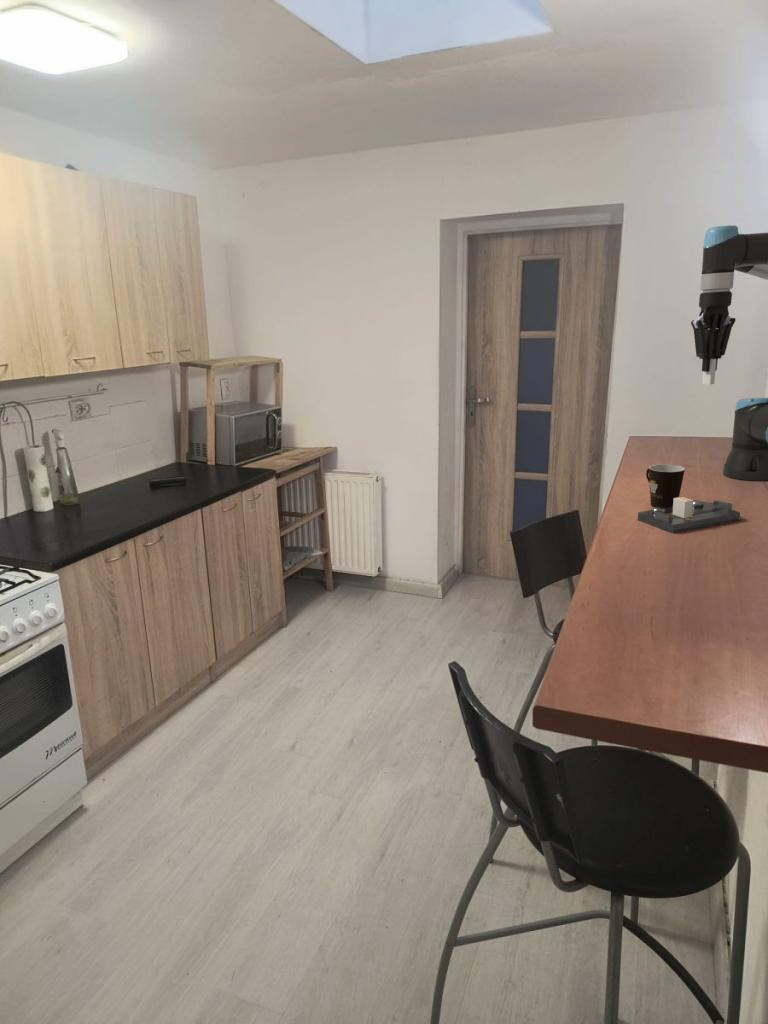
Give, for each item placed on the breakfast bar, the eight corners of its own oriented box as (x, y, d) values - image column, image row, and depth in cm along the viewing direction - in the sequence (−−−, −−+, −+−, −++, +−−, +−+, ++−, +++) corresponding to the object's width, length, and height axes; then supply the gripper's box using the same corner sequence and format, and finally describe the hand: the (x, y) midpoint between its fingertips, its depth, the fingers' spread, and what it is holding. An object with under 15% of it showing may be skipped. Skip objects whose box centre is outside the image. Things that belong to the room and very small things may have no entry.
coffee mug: (685, 510, 169) (688, 471, 166) (649, 510, 171) (651, 472, 168) (675, 498, 180) (678, 461, 177) (641, 497, 182) (644, 462, 179)
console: (701, 508, 170) (702, 494, 169) (739, 520, 159) (740, 505, 158) (637, 520, 163) (638, 506, 162) (672, 533, 153) (673, 518, 152)
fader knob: (680, 512, 160) (681, 496, 159) (691, 516, 157) (693, 499, 156) (672, 514, 159) (673, 497, 158) (683, 518, 156) (685, 501, 155)
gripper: (723, 291, 177) (715, 380, 184) (685, 292, 173) (678, 384, 179) (747, 289, 170) (738, 382, 177) (708, 291, 166) (700, 387, 173)
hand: (708, 383), depth 178 cm, fingers closed
